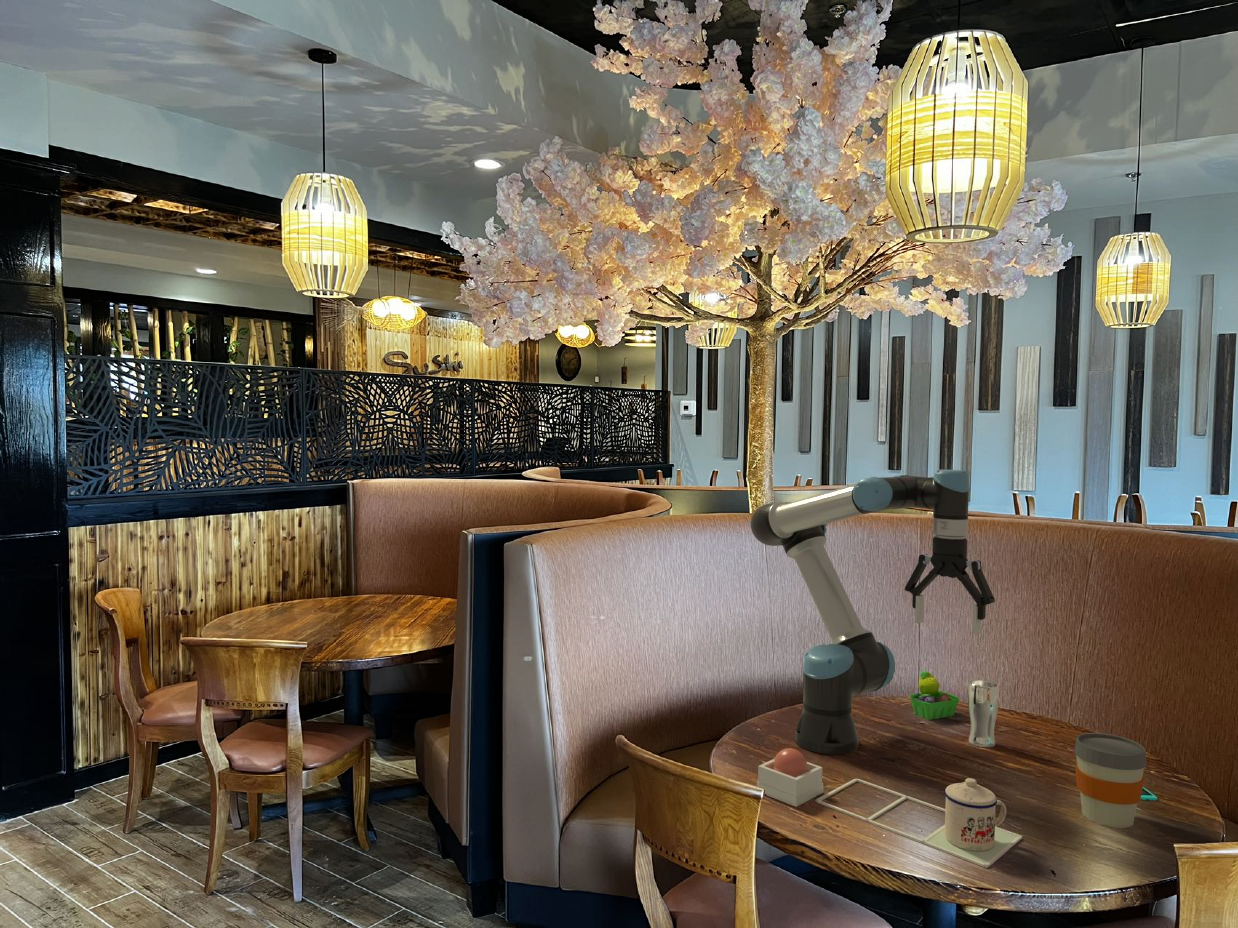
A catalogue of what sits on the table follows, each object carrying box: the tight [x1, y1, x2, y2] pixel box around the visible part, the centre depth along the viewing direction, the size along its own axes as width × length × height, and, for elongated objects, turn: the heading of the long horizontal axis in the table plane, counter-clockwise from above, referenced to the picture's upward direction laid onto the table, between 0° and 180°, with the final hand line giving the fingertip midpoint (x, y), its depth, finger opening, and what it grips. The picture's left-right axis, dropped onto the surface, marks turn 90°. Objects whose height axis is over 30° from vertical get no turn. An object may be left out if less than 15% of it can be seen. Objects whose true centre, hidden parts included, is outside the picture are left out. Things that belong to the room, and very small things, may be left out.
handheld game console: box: [1141, 786, 1158, 801], centre depth 184 cm, size 10×16×1 cm, turn 177°
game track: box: [814, 777, 1023, 869], centre depth 166 cm, size 35×16×1 cm, turn 44°
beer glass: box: [967, 679, 1000, 749], centre depth 207 cm, size 7×7×15 cm
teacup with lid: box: [944, 777, 1007, 851], centre depth 157 cm, size 12×9×12 cm
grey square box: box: [756, 758, 824, 808], centre depth 178 cm, size 10×10×6 cm
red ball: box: [773, 747, 808, 778], centre depth 178 cm, size 7×7×7 cm
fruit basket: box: [909, 670, 961, 721], centre depth 228 cm, size 11×9×11 cm
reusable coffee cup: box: [1073, 732, 1148, 829], centre depth 168 cm, size 13×13×15 cm
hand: (947, 627), depth 193 cm, fingers open, 13 cm apart
